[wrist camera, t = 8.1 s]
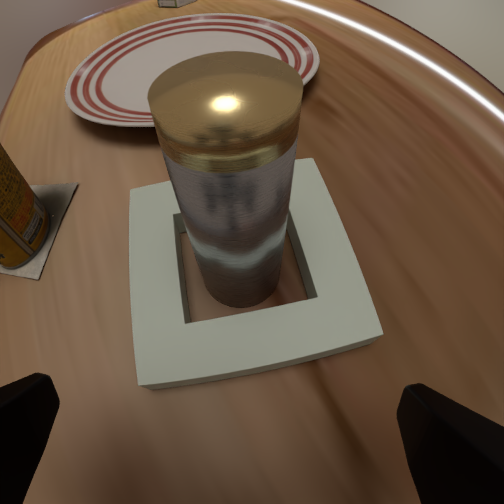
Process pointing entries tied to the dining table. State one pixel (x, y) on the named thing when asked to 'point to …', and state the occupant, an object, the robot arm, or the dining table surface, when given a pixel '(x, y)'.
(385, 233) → the dining table surface
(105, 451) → the dining table surface
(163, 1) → the syrup box
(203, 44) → the dinner plate
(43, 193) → the condiment
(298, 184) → the white flat square frame
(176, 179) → the jar with gold lid
